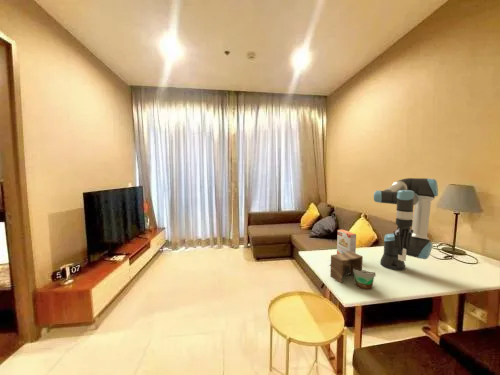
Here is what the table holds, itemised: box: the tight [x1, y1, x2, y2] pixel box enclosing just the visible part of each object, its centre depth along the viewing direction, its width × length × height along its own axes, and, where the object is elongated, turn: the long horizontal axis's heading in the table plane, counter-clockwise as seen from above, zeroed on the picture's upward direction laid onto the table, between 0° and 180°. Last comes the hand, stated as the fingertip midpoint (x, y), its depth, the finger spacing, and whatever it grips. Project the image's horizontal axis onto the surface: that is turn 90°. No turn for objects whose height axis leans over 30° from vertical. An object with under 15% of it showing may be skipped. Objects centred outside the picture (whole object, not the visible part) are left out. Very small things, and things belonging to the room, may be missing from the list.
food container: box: [353, 269, 377, 291], centre depth 130 cm, size 12×6×10 cm, turn 65°
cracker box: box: [336, 229, 357, 254], centre depth 174 cm, size 14×6×21 cm, turn 20°
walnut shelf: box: [329, 252, 364, 284], centre depth 142 cm, size 17×9×14 cm, turn 111°
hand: (401, 260), depth 123 cm, fingers closed
